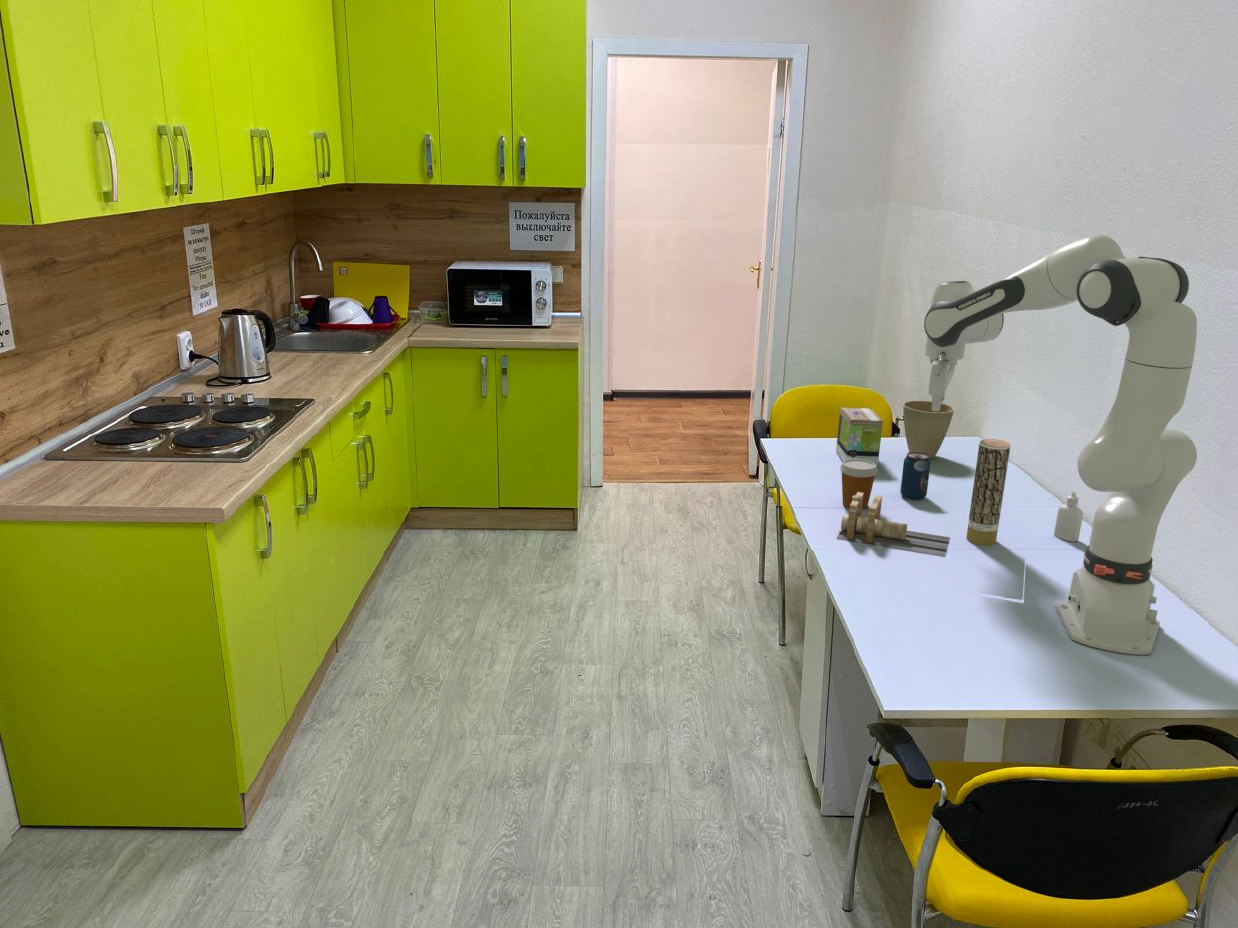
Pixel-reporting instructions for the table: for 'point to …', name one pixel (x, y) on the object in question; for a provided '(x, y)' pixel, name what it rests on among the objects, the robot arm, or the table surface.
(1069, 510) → the eye dropper bottle
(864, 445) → the tea box
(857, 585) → the table surface
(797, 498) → the table surface
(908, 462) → the soda can
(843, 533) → the collar stand
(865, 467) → the disposable coffee cup
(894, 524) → the wooden roller
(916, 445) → the plant pot
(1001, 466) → the paper tube
